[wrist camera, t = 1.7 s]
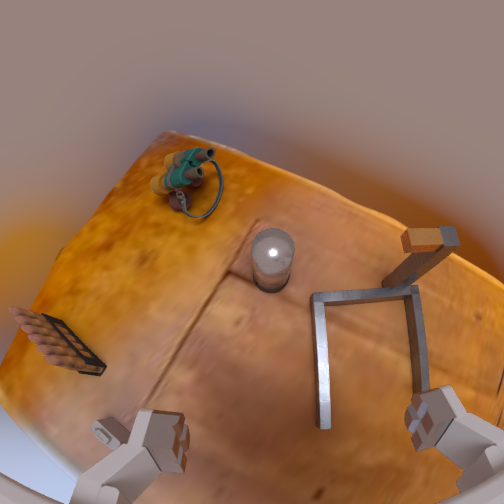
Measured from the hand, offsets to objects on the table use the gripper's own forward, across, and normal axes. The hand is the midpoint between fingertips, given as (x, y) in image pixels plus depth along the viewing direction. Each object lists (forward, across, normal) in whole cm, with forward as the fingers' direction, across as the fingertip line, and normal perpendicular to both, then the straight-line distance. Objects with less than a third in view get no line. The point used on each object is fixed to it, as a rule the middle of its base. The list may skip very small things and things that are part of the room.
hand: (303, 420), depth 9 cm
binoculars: (+38, +11, 0) cm, 40 cm away
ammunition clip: (+22, +27, +16) cm, 38 cm away
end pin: (+29, 0, +9) cm, 30 cm away
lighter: (+14, +19, +25) cm, 34 cm away
